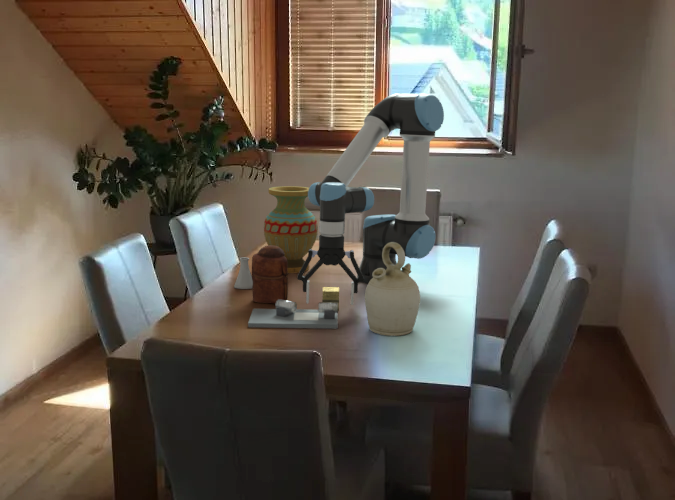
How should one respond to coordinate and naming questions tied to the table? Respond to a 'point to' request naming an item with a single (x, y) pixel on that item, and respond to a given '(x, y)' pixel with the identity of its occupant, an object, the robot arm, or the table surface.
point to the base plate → (291, 319)
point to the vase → (291, 225)
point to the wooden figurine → (269, 275)
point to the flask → (244, 275)
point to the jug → (392, 296)
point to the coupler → (331, 295)
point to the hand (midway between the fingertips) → (329, 302)
